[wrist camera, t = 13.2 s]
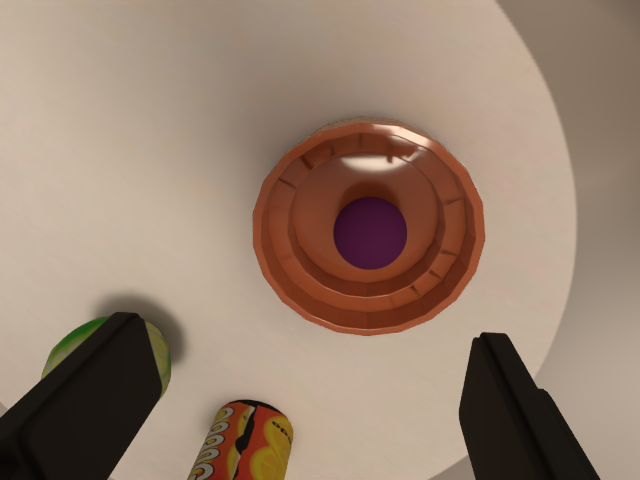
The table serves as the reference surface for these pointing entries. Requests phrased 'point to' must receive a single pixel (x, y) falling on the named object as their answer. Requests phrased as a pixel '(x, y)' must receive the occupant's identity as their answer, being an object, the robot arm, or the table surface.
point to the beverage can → (245, 444)
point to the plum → (370, 233)
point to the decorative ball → (87, 329)
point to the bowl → (356, 182)
